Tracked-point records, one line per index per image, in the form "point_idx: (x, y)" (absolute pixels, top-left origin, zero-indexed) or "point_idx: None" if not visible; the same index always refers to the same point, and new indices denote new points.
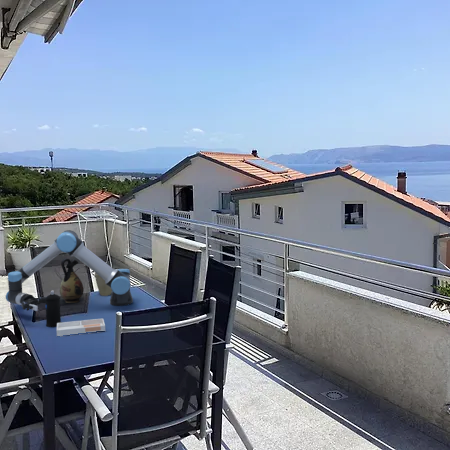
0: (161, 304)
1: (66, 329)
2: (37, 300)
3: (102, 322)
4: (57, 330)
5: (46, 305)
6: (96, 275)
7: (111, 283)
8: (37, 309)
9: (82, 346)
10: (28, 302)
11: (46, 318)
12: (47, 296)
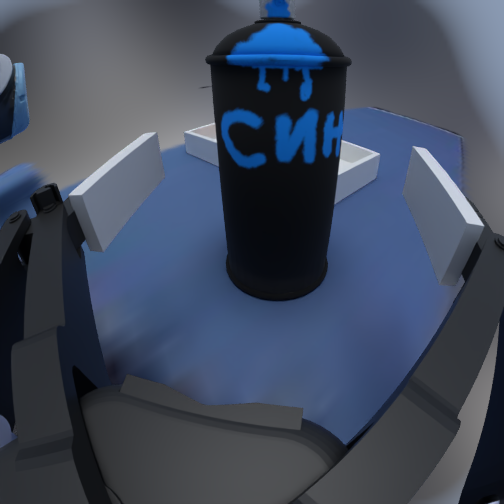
0: (14, 167)
1: (347, 142)
2: (114, 386)
3: (205, 134)
4: (377, 153)
5: (343, 115)
6: None
7: (18, 84)
8: (407, 182)
9: (362, 130)
10: (468, 352)
11: (328, 231)
12: (322, 34)
